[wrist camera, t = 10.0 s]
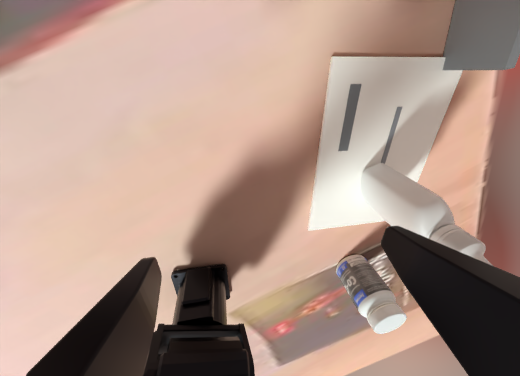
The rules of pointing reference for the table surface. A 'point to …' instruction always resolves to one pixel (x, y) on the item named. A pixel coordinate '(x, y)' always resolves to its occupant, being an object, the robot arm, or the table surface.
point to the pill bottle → (370, 294)
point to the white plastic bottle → (416, 209)
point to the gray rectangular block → (483, 35)
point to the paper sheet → (375, 129)
